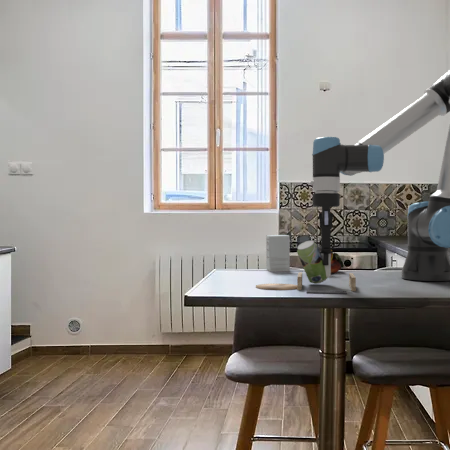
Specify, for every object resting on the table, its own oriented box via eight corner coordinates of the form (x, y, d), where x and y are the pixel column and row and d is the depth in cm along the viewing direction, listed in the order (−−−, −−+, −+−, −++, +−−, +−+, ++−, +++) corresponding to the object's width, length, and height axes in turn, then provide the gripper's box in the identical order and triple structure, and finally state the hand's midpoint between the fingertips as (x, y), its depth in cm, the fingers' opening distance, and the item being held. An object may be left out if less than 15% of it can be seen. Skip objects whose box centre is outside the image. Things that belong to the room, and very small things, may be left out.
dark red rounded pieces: (323, 294, 201) (293, 272, 194) (331, 263, 207) (303, 241, 200) (351, 290, 192) (321, 267, 185) (359, 257, 198) (330, 234, 191)
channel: (352, 285, 164) (352, 273, 164) (355, 291, 152) (355, 277, 152) (298, 284, 166) (298, 272, 166) (297, 289, 154) (297, 276, 154)
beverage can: (333, 275, 168) (321, 236, 166) (324, 285, 162) (312, 244, 160) (313, 278, 171) (301, 239, 169) (304, 288, 165) (291, 248, 163)
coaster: (300, 285, 165) (300, 283, 165) (299, 290, 153) (299, 289, 153) (257, 284, 167) (257, 283, 167) (253, 289, 155) (253, 288, 155)
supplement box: (286, 270, 210) (286, 234, 210) (290, 272, 203) (290, 235, 202) (265, 270, 210) (266, 234, 209) (268, 272, 202) (268, 235, 202)
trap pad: (346, 291, 151) (346, 290, 151) (347, 294, 147) (347, 292, 147) (306, 291, 152) (306, 290, 152) (306, 293, 148) (306, 292, 148)
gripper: (312, 193, 172) (312, 274, 172) (312, 192, 159) (312, 279, 159) (338, 193, 170) (338, 274, 171) (340, 191, 158) (340, 279, 158)
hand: (325, 276), depth 165 cm, fingers closed
